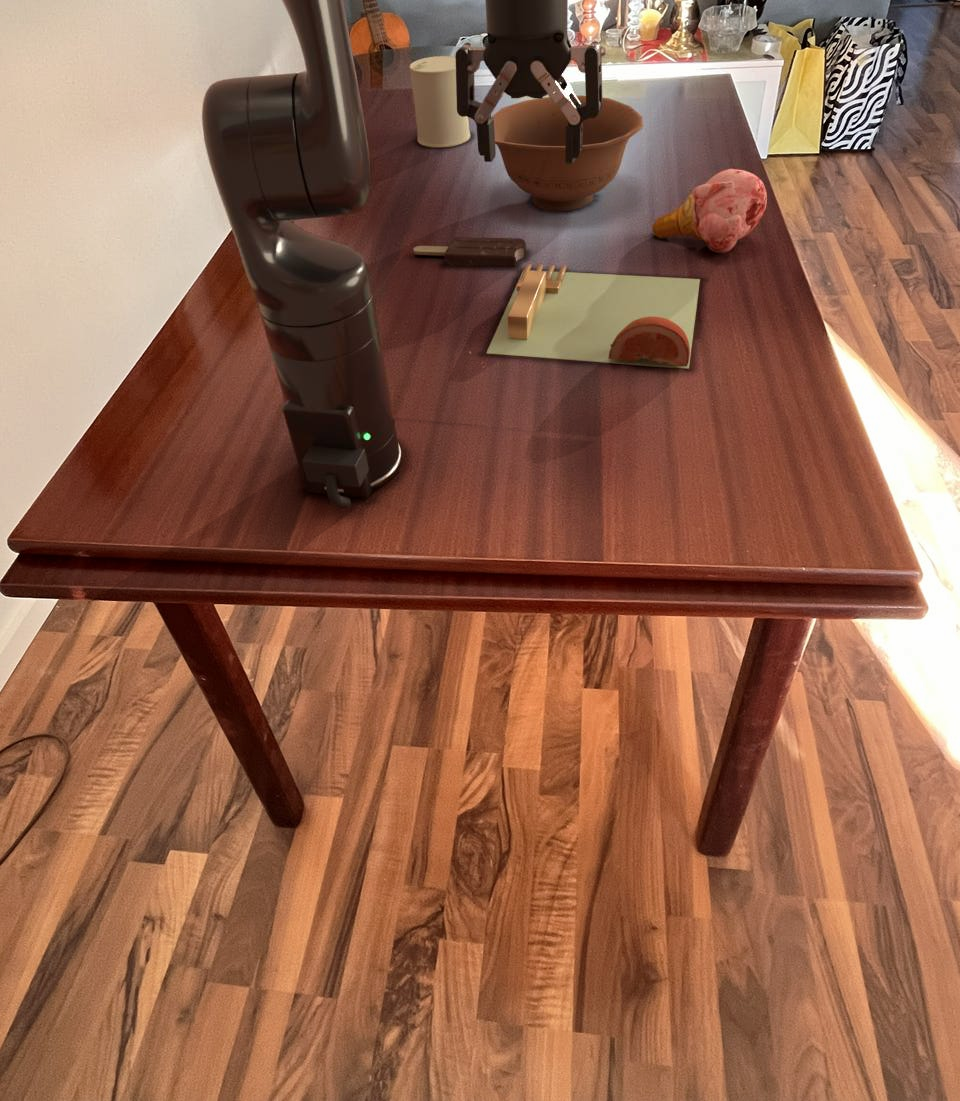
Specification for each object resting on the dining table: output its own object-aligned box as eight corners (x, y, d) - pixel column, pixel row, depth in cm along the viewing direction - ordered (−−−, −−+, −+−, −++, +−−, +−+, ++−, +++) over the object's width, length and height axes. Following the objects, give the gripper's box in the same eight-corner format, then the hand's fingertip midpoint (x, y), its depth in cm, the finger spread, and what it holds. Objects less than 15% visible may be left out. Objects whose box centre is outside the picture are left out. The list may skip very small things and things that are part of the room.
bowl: (467, 224, 115) (460, 142, 107) (512, 166, 129) (510, 90, 121) (621, 237, 109) (626, 151, 101) (651, 174, 123) (657, 95, 115)
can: (409, 136, 142) (400, 59, 134) (457, 125, 145) (451, 49, 136) (429, 152, 136) (421, 72, 128) (479, 140, 139) (474, 61, 130)
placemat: (688, 370, 85) (688, 368, 85) (486, 354, 90) (486, 353, 90) (699, 280, 99) (700, 279, 99) (523, 271, 104) (523, 269, 103)
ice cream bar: (409, 264, 107) (521, 268, 104) (407, 253, 106) (521, 256, 103) (419, 247, 111) (528, 250, 108) (418, 235, 109) (527, 238, 107)
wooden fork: (540, 340, 91) (540, 318, 89) (495, 337, 92) (494, 315, 90) (567, 269, 103) (567, 248, 101) (526, 267, 104) (526, 246, 102)
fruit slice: (614, 325, 90) (608, 369, 89) (613, 302, 83) (606, 349, 83) (692, 331, 88) (686, 376, 88) (696, 307, 81) (690, 355, 81)
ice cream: (631, 247, 103) (747, 212, 93) (638, 180, 105) (751, 138, 95) (670, 288, 111) (780, 259, 101) (675, 225, 113) (784, 190, 103)
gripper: (437, -19, 72) (454, 172, 83) (598, -24, 68) (592, 176, 80) (460, -35, 77) (473, 146, 88) (611, -41, 73) (604, 149, 85)
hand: (530, 160), depth 84 cm, fingers open, 8 cm apart
